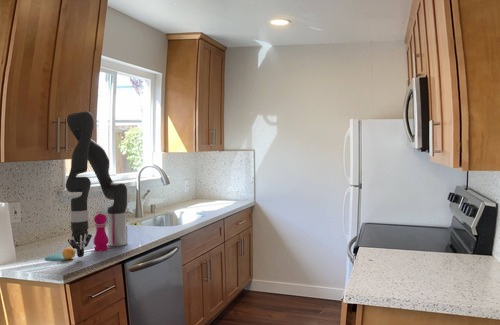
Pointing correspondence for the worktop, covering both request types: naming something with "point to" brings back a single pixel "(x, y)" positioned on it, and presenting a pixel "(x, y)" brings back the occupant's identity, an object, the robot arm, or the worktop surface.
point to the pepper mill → (100, 232)
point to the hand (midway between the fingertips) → (80, 256)
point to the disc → (55, 257)
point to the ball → (68, 253)
